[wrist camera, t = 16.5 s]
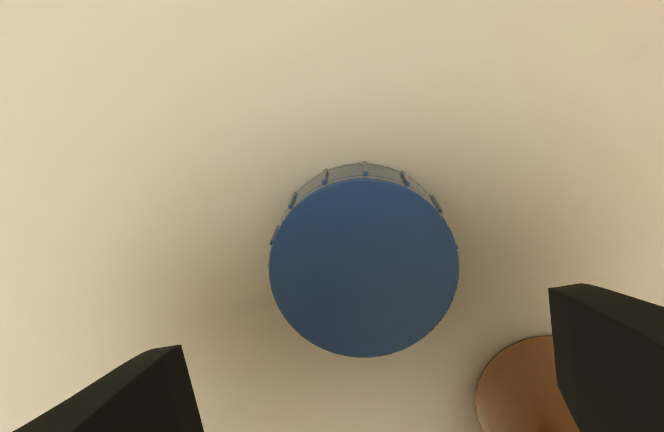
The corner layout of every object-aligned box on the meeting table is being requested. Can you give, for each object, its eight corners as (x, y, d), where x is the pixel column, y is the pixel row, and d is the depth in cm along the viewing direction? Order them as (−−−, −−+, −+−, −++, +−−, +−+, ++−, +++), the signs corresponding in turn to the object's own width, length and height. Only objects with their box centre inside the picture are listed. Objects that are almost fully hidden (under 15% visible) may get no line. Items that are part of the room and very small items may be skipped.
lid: (460, 306, 18) (475, 340, 16) (296, 336, 19) (289, 373, 16) (433, 146, 17) (445, 158, 15) (258, 181, 17) (245, 199, 15)
